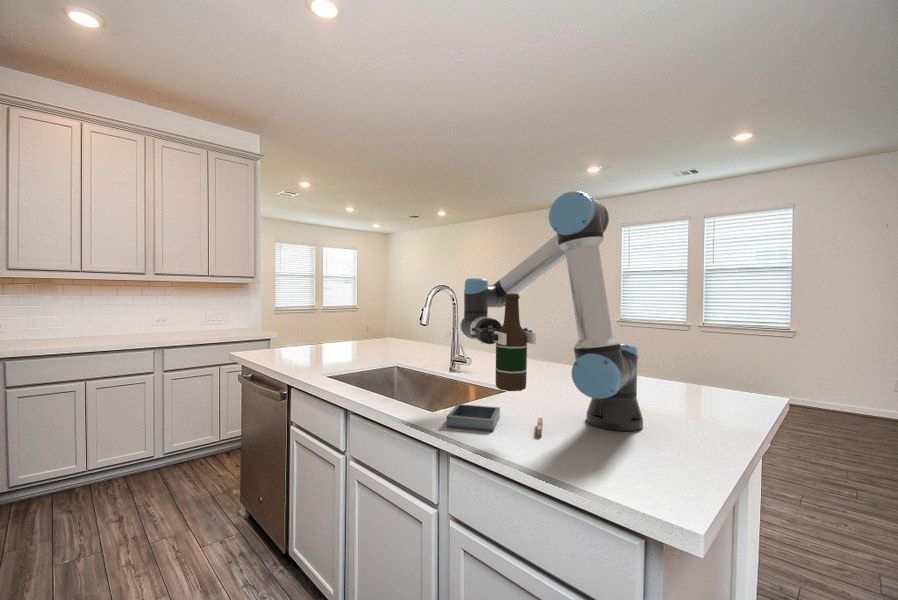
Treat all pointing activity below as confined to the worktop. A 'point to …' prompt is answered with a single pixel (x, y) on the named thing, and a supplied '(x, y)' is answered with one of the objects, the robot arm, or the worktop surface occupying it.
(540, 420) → the jamb strip
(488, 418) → the keeper
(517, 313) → the beer bottle
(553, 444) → the worktop surface
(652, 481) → the worktop surface
